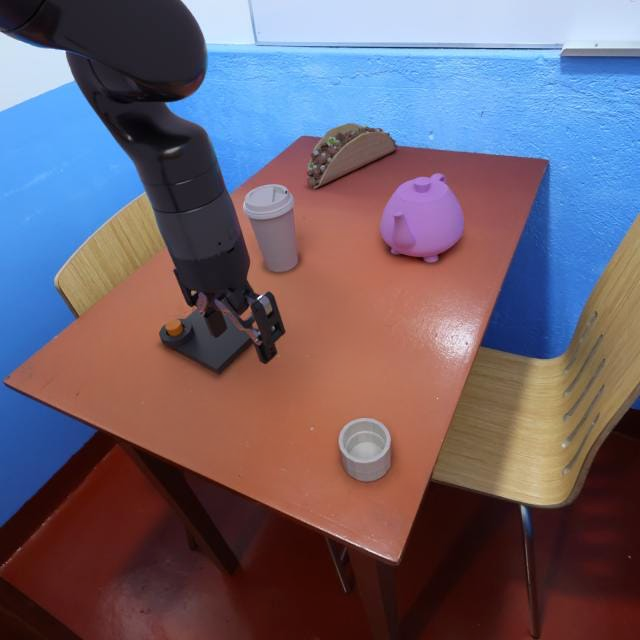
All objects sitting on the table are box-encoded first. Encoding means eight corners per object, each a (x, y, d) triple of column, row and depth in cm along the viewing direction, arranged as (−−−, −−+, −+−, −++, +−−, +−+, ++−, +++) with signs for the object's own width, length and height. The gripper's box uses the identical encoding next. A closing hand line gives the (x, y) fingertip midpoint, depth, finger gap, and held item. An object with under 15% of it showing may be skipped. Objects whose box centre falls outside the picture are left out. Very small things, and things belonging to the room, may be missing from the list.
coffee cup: (294, 280, 90) (279, 210, 79) (250, 274, 93) (230, 206, 83) (312, 251, 96) (301, 183, 86) (271, 246, 99) (255, 180, 89)
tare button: (175, 338, 78) (172, 331, 77) (165, 333, 79) (162, 326, 78) (186, 328, 79) (183, 322, 78) (176, 323, 81) (173, 317, 80)
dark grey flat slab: (215, 378, 74) (210, 365, 72) (159, 346, 81) (152, 334, 79) (260, 335, 80) (256, 322, 78) (203, 309, 87) (198, 297, 85)
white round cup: (375, 492, 57) (372, 472, 53) (333, 468, 60) (328, 446, 56) (400, 453, 60) (399, 431, 57) (359, 432, 63) (356, 410, 60)
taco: (300, 182, 119) (293, 143, 112) (380, 145, 128) (378, 107, 122) (322, 194, 112) (317, 154, 106) (405, 154, 122) (404, 115, 115)
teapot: (434, 290, 82) (437, 222, 73) (357, 270, 89) (350, 205, 80) (478, 226, 94) (485, 160, 85) (406, 212, 102) (406, 151, 92)
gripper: (131, 236, 48) (184, 343, 59) (225, 276, 41) (265, 390, 52) (186, 201, 52) (226, 308, 63) (280, 232, 45) (307, 347, 56)
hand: (243, 345), depth 58 cm, fingers open, 8 cm apart
